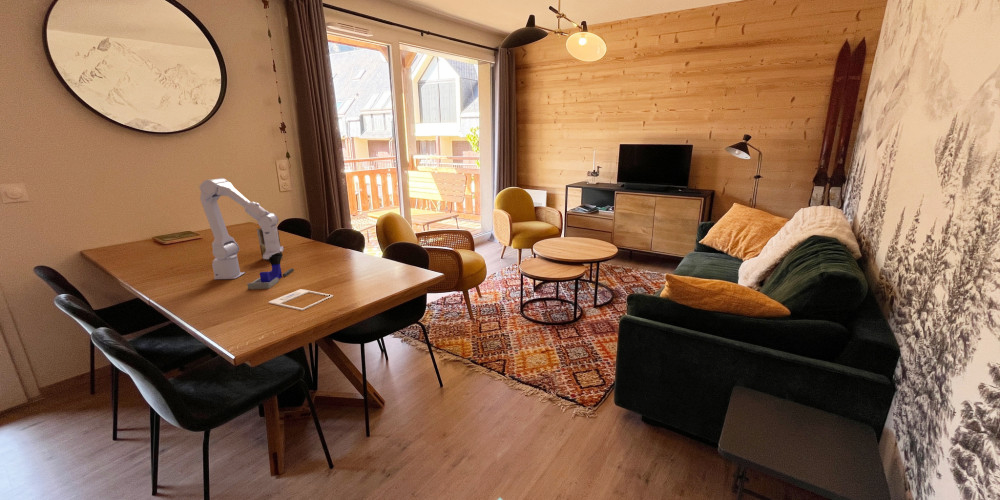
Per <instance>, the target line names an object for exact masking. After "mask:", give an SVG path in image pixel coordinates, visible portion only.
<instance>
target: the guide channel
mask: <svg viewBox="0 0 1000 500" xmlns="http://www.w3.org/2000/svg"><path fill="white" fill-rule="evenodd" d="M293 272H294V268H290V269H287V270H286V271H285V272H283V273H282V277H288V276H289V275H290V274H291V273H293Z"/></svg>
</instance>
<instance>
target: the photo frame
mask: <svg viewBox="0 0 1000 500" xmlns="http://www.w3.org/2000/svg"><path fill="white" fill-rule="evenodd" d="M308 293H309V294H315V295H318V296H319V295H320V296H324V295H325V298H322V299H321V300H318V301H316V302H314V303H312V304H309V305H306V306H305V307H303V308H302V307H297V306H293V305H287V304H285V303H287V302H290V301H292V300H294V299H296V298H299V297H302V296H304V295H306V294H308ZM329 295H330V296H329ZM333 296H334V294H328V293H325V292H323V293H322V292H318V291H314V290H313V291H312V290H308V289H304V288H303V289H302V288H299V289H297V290H295V291H293V292H290V293H287V294H284V295H282V296H280V297H279V296H278V297H277V298H275V299H272V300H270V301H268V304H272V305H275V306H280V307H283V308H289V309H294V310H298V311H301V312H302V311H305V310H308V309H309V308H311V307H314V306H315V305H316V306H317V305H318V304H320V303H322V301H323V302H325V301H326V299H327V300H329V299H331V298H333ZM328 298H329V299H328ZM324 300H325V301H324Z"/></svg>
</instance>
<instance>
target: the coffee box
mask: <svg viewBox="0 0 1000 500" xmlns="http://www.w3.org/2000/svg"><path fill="white" fill-rule="evenodd" d="M277 231H278V237H279V243H280V246H281V241H280V233H279V229H278V227H277ZM256 232H257V238H258V244H259V249H260V253H261V258H262V259H263V260H267V259H264V258H263V255H264V254H265V252H266V248H265V242H264V236H263V231H262V228H261V227H259V228H257V229H256ZM279 253H282V254H283V252H279ZM281 259H283V256H282V258H281ZM267 261H268V260H267Z"/></svg>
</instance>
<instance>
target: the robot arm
mask: <svg viewBox="0 0 1000 500" xmlns="http://www.w3.org/2000/svg"><path fill="white" fill-rule="evenodd" d="M198 188H199V190H200V195H199V199H200V200H199V201H200V203H201V206H202V208H203V211H204V213H205V217H206V219H207V222H208V224H209V227H210V230H211V233H212V235H213V238H214V240H212V243H211V247H212V255H213V256H214V259H213V260H212V264H211V266H212V270H213V280H235V279H237V278H239V277H241V276H242V275H244V274H245V273H246V272H245V271H243V272H241V269H240V264H239V259H238V253H239V251H240V246H239V244H238V242H236V240H235V238H234V237H233V236H231V235H229V232H228V229H227V225H226V223H225V220H224V218H223V215H222V212H221V209H220V206H219V204H218V200H219V199H220V198H221V197H222V196H224V197H229V198H230V199H231V200H233V201H234V202H235V203H237V204H239V205H240V206H242V208H244V212H245V213H246V214H248V215H249V216H250V217H251V218H253V219H254V220H255V221H256V222H257V224H258V226H259V228H262V231H263V236H264V242H265V248H266V252H265V254H264V255H263V258H264V259H263V260H266V259H267V261H268V263H269V264H270V265H271V266H272V265H273V264H280V265H281V260H282V259H283V258H282V257H283V252H284V250H285V249H284V246H283V245H282V246H280V245H281V242H280V243H279V239H280V236H279V237H278V233H279V230H278V231H277V228H278V226H277V225H278V223H279V217H278V216H277V214H276V213H273V212H269V210H266V209H265V208H264V207H262V206H261V204H260V203H259V202H256V201H250V200H249V199H248V198H247V197H246V196H244V195H243V194H242V192H240V191H239V190H237V188H235V187H234V185H233V184H232V182H230V181H229V180H227V179H226V178H225V177H224V178H223V177H218V178H214V179H205V180H203V181H202V182H201V183H200V184H199V186H198ZM279 252H282V253H279Z"/></svg>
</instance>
